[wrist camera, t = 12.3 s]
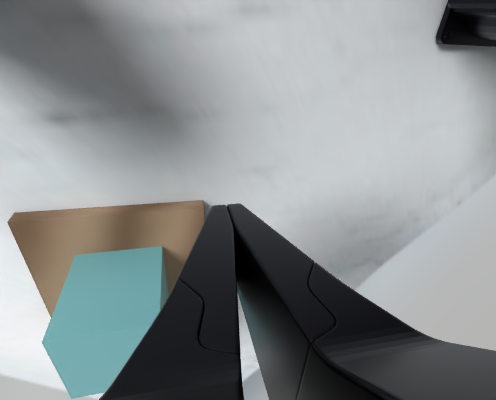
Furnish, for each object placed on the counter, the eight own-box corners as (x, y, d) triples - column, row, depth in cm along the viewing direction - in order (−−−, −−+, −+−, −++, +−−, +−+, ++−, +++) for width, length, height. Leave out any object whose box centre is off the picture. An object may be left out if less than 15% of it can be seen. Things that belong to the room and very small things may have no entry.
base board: (202, 200, 22) (203, 208, 21) (205, 308, 28) (206, 317, 27) (14, 213, 19) (7, 222, 18) (64, 328, 26) (60, 339, 25)
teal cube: (162, 246, 22) (159, 324, 17) (169, 299, 25) (168, 380, 20) (75, 254, 21) (41, 342, 15) (93, 309, 24) (71, 398, 18)
